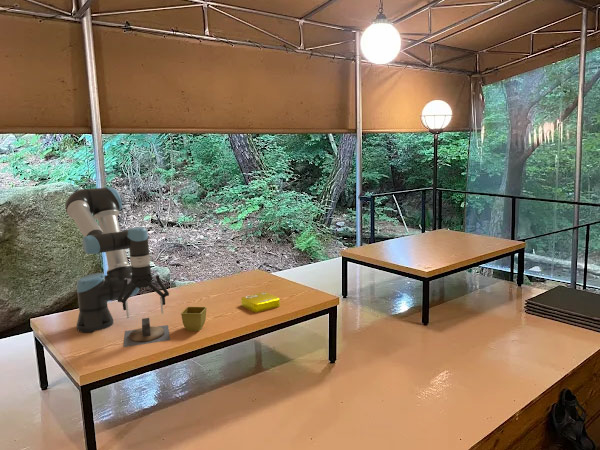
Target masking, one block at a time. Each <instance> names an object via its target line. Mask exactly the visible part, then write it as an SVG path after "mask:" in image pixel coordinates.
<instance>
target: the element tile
mask: <svg viewBox="0 0 600 450" xmlns="http://www.w3.org/2000/svg"><path fill="white" fill-rule="evenodd" d="M240 302H241V307H243V308H245V309H247V310H249V311H251V312H253V313H260V312H264V311H269V310H271V309H275V308H279V307H281V299H280V297H278V296H276V295H273V294H271V293H269V292H266V291H263V292H259V293H254V294H250V295H245V296H242V297H241V298H240Z"/></svg>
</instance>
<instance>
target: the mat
mask: <svg viewBox="0 0 600 450" xmlns="http://www.w3.org/2000/svg"><path fill="white" fill-rule="evenodd" d="M156 327H161V328H163V329H164V335H163V336H162V337H160V338H158V339H156V340H153V341H148V342H134V341H131V340H130V339H129V334H130V333H131V332H132V331H134V330H135V329H130V330H124V335H123V336H124V338H123V345H122V347H123V348H126V347H134V346H140V345H147V344H154V343H161V342H167V341H171V337H170V330H169V325H168V324H167V325H166V324H165V325H159V326H156Z"/></svg>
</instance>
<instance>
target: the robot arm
mask: <svg viewBox="0 0 600 450" xmlns="http://www.w3.org/2000/svg"><path fill="white" fill-rule="evenodd" d="M64 207H65V212H66V213H67V215H68V217H69V218H70V219H72V220H73V221H74V222H75V224H76V226H77V228H78V230H79V231H80V233H81V234H82V237H83V238H82V241H81V242H82V243H81V244H82V248H83V251H84V253H85V254H86V255H94V254H95V255H97V254H100V253H101V254H102V253H105V255H106V260H107V265H108V269H107V271H106V275H105V273H103V272H95V273H90V274H88V275H84V276H82V277H80V278H79V279H78V280H77V282H76V293H77V299H78V300H77V301H78V310H79V314H78V317H77V321H76V329H77V331H78V330H79V331H78V332H80V331H82V332H81V333H94V332H96V331H101V330H104V329H107V328H110V327H111V326H113V324H114V318H113V316H112V314H111V311H110V310H109V306H108V302H111V301H115V300H117V302H118V303H122V310H123V311H126V319H130V311H129V302H128V299H129V298H130V297H134V296H137V294H138V293H139V291H140V289H141V288H148V287H149V288H150V289H152V290H153V291H154V292H156V294H158V296H159V300H160V301H159V303H160V310H161V311H160V312H161V314H163V315H164V306H165V305H166V297H169V296H170V294H169V293H170V292H169V290H167V287H166V286H165V285H164V283H163V282H162V280H161V279H160V274H158V273H157V274H156V275H152V272H151V271H152V270H151V265H150V263H151V258H150V250H149V249H150V246H149V235H148V229H147V228H146V227H142V226H139V227H137V226H136V227H131V228H128V229H123V230H121V227H120V223H119V219H118V216H119V215H120V211H121V210H122V208H123V204H122V199H121V195H120V192H119V191H118V190H117V189H116V188H114V187H105V186H104V187H99V188H97V187H96V188H86V189H84V188H83V189H78V190H75V191H74V192H73V193H71V194H70V195H69V197H68V198H67V199H66V201H65V206H64ZM92 214H93V215H92ZM97 221H98V222H97ZM126 250H128V251H129V258H130V259H129V260H130V263H129V262H128V261H129V260H128V256H127V253H126ZM153 280H154V281H156V282H157V283H158V285H159V286H160V288H161V290H162V291H161V290H160V288H158V287H157V286H156V285H155V284H153V282H152V281H153Z"/></svg>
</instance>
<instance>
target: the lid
mask: <svg viewBox="0 0 600 450" xmlns="http://www.w3.org/2000/svg"><path fill="white" fill-rule="evenodd" d="M150 321H151V320H150V317H145V318H144V317H143V318H141V327H139V328H137V329H133V330H134V331H132V332H131V333H130V334H129V339H130V340H131V341H134V342H148V341H153V340H156V339H158V338H160V337H162V336H163V335H164V329H163V328H161V327H157V326H153V325H152V326H151V322H150Z"/></svg>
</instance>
